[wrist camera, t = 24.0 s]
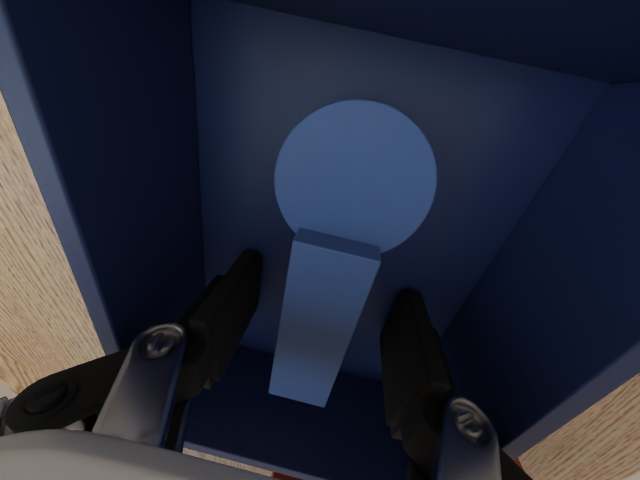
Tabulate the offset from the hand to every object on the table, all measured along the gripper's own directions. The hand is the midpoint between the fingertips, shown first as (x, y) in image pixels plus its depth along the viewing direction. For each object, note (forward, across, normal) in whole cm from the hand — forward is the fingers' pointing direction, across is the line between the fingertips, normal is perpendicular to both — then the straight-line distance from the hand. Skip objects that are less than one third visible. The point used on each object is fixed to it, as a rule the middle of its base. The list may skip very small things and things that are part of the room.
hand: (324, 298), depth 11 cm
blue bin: (+1, 0, -2) cm, 2 cm away
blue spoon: (0, 0, -2) cm, 2 cm away
